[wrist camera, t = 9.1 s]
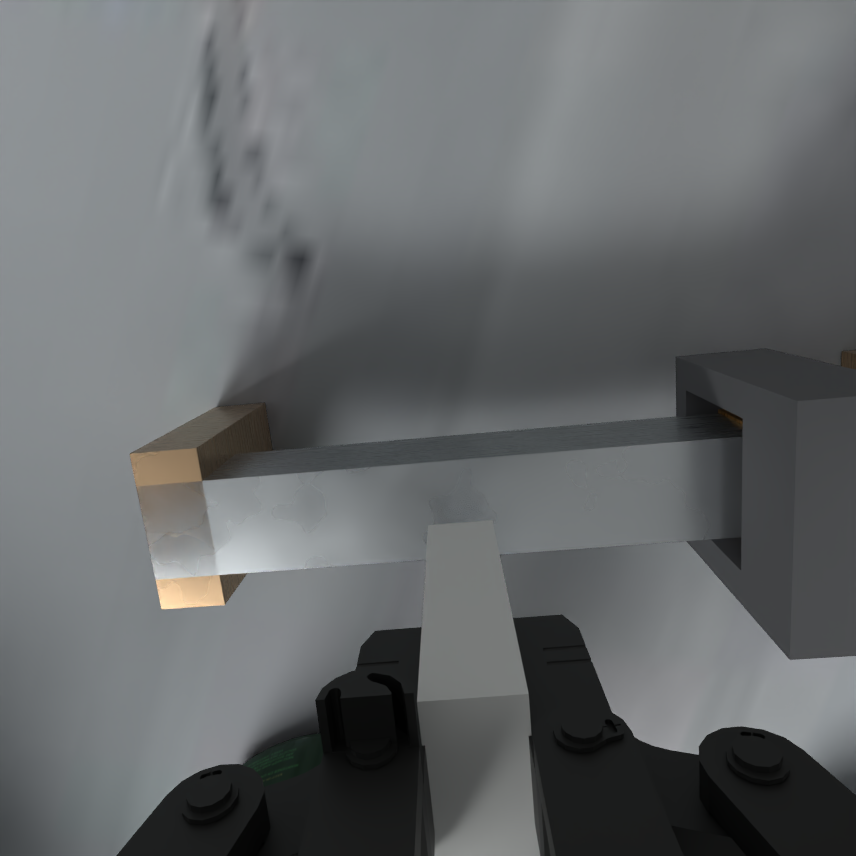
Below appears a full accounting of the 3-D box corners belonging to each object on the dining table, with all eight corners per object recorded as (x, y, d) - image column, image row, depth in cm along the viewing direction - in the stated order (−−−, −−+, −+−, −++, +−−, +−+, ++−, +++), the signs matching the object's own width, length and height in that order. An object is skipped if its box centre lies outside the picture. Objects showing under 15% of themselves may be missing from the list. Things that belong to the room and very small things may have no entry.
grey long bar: (236, 525, 27) (160, 611, 20) (215, 407, 26) (127, 454, 19) (889, 474, 25) (1051, 549, 18) (897, 346, 24) (1073, 374, 17)
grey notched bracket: (678, 531, 24) (789, 659, 16) (675, 356, 22) (797, 401, 14) (762, 524, 24) (918, 652, 16) (765, 348, 22) (939, 388, 14)
